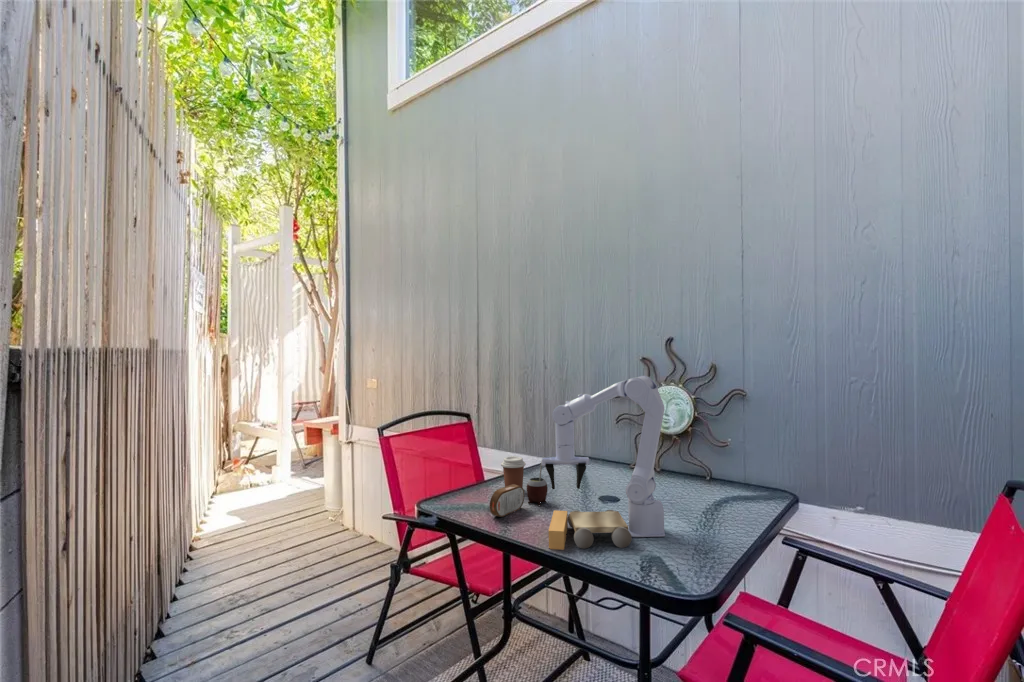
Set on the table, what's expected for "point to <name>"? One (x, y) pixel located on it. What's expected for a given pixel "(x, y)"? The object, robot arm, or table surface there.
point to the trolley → (599, 527)
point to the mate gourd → (537, 489)
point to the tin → (506, 500)
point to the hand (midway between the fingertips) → (565, 488)
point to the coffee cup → (513, 470)
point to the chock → (558, 530)
